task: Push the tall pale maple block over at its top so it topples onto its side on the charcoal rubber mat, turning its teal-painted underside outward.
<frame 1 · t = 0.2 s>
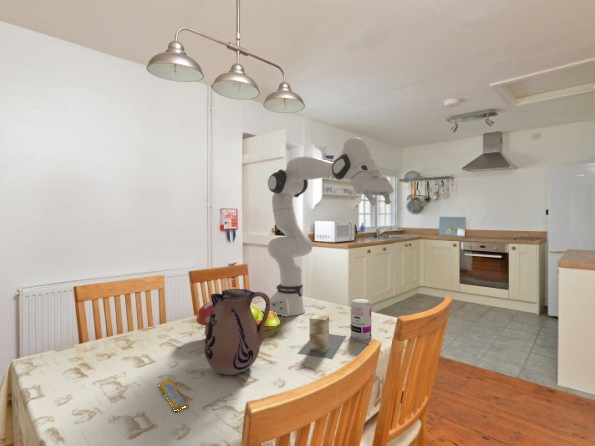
hand: (381, 203, 121), 54 cm above the table, tool tilted 30°, fingers open, 8 cm apart
decorative mushroom: (213, 338, 131), on the table
candy bar: (173, 399, 89), on the table
block: (319, 349, 118), resting on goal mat
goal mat: (323, 345, 123), on the table
supplement can: (361, 337, 131), on the table
ceramic pitcher: (238, 368, 106), on the table
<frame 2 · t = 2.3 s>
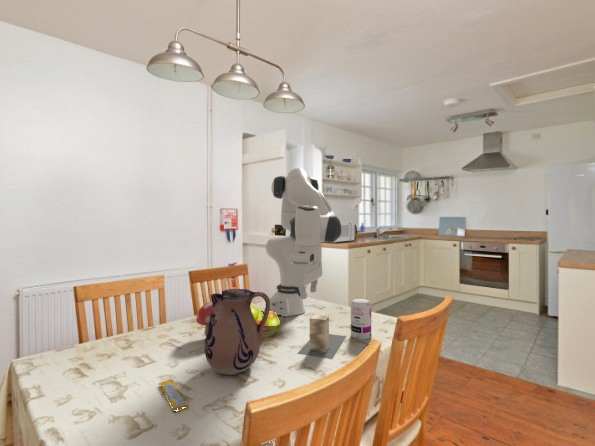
hand: (308, 295, 107), 23 cm above the table, tool pointing down, fingers open, 8 cm apart
nothing on the table moved.
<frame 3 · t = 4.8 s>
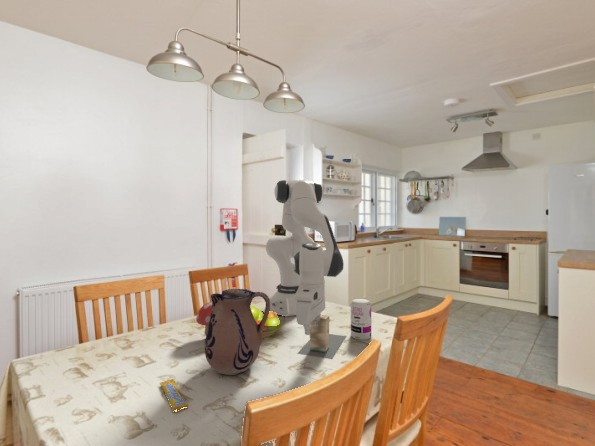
hand: (312, 329, 111), 10 cm above the table, tool pointing down, fingers open, 8 cm apart
block: (319, 349, 118), resting on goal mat, touching gripper
everything else where it was.
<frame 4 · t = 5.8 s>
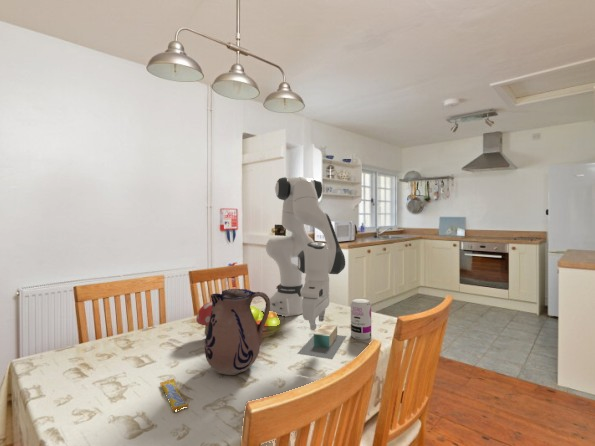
hand: (317, 325, 116), 10 cm above the table, tool pointing down, fingers open, 8 cm apart
block: (321, 341, 120), point 3 cm above the table, tilted 90°, touching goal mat
everything else where it was.
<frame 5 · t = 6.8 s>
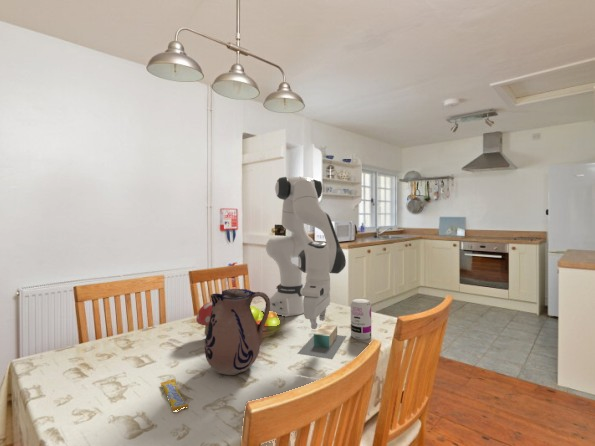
hand: (318, 324, 117), 10 cm above the table, tool pointing down, fingers open, 8 cm apart
nothing on the table moved.
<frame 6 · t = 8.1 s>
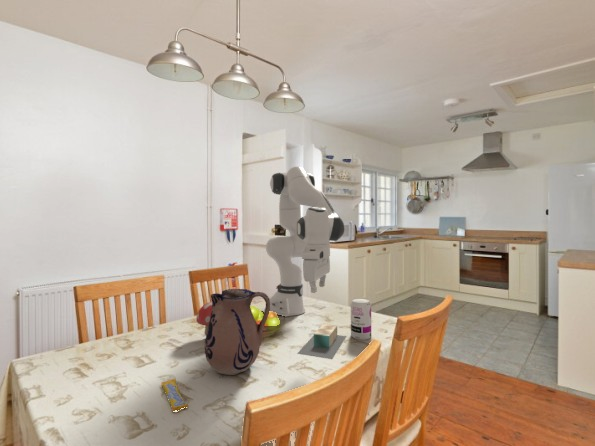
hand: (318, 289, 117), 23 cm above the table, tool pointing down, fingers open, 8 cm apart
nothing on the table moved.
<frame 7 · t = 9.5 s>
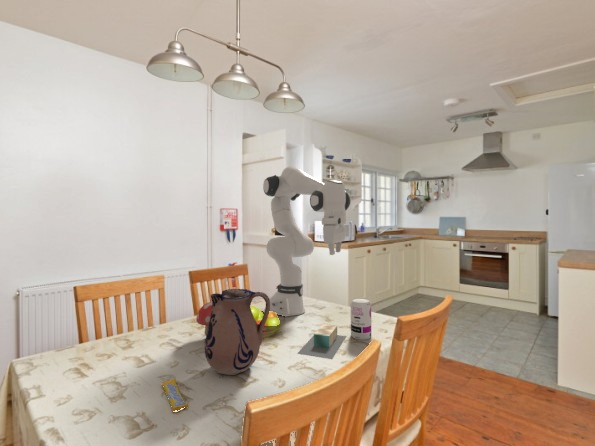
hand: (335, 253, 131), 34 cm above the table, tool pointing down, fingers open, 8 cm apart
nothing on the table moved.
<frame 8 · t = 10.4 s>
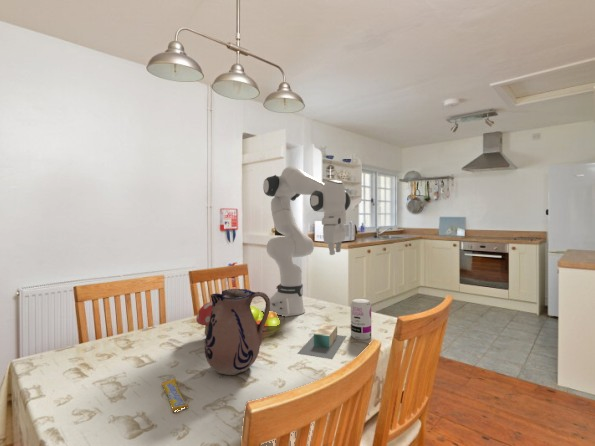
hand: (335, 253, 131), 34 cm above the table, tool pointing down, fingers open, 8 cm apart
nothing on the table moved.
at the end: block tilted 90°; block inside the target area (0.2 cm from its centre), point 2.5 cm above the table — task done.
